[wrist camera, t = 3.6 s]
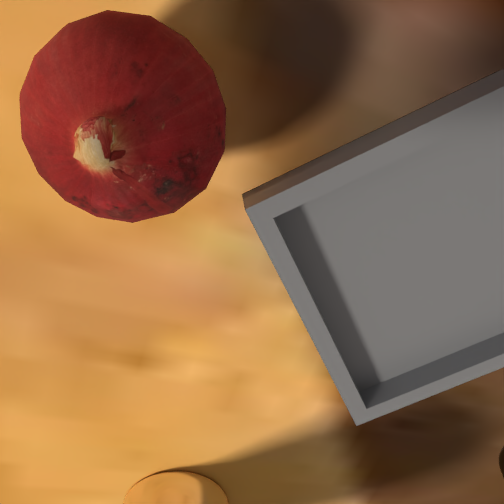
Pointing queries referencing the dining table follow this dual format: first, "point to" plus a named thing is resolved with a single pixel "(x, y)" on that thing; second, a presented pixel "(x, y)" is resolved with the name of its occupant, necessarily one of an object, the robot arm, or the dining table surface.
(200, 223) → the dining table surface
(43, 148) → the onion
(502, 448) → the robot arm
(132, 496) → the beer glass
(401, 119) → the tray
